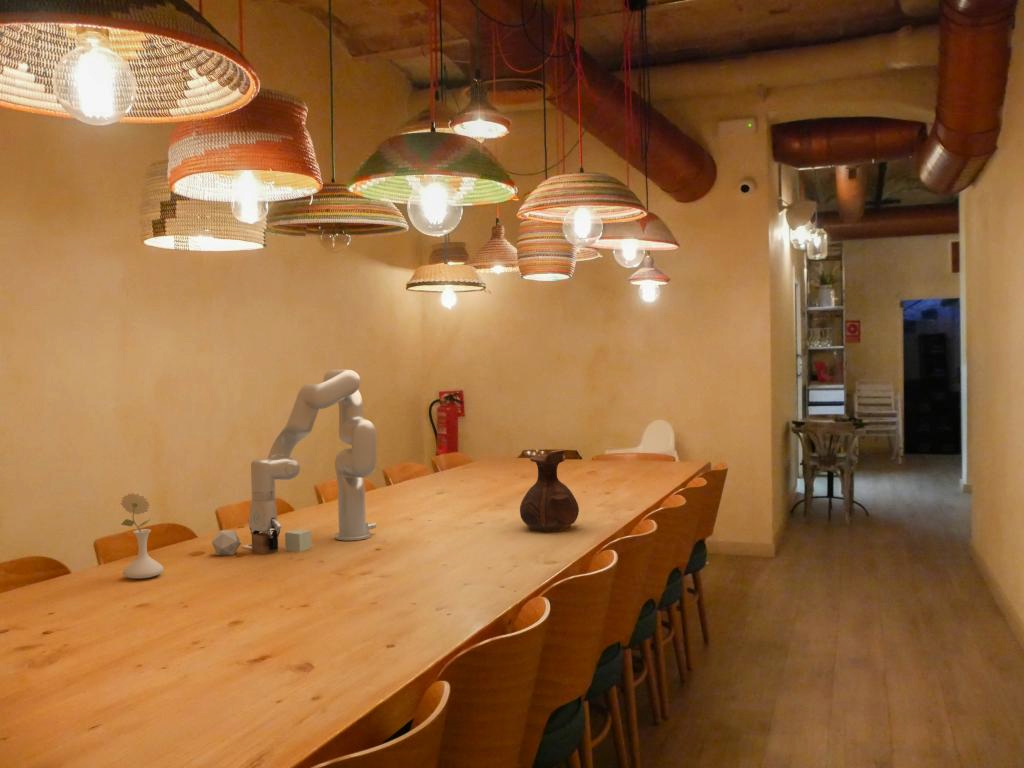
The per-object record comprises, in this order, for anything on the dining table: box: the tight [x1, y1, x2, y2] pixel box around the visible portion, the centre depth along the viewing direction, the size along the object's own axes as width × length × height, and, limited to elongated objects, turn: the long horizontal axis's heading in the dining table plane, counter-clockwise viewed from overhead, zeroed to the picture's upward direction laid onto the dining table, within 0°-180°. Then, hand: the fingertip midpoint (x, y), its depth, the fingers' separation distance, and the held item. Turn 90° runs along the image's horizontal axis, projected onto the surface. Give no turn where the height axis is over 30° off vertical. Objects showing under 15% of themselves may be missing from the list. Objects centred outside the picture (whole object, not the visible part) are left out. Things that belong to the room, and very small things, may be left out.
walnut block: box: [251, 532, 279, 556], centre depth 296 cm, size 6×6×6 cm
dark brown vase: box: [519, 449, 580, 532], centre depth 325 cm, size 22×22×30 cm
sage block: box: [284, 529, 312, 553], centre depth 299 cm, size 6×6×6 cm
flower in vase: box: [120, 492, 165, 580], centre depth 265 cm, size 13×11×25 cm
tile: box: [241, 543, 252, 551], centre depth 304 cm, size 8×8×1 cm
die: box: [211, 529, 242, 557], centre depth 293 cm, size 8×9×10 cm
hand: (264, 547), depth 296 cm, fingers open, 9 cm apart
